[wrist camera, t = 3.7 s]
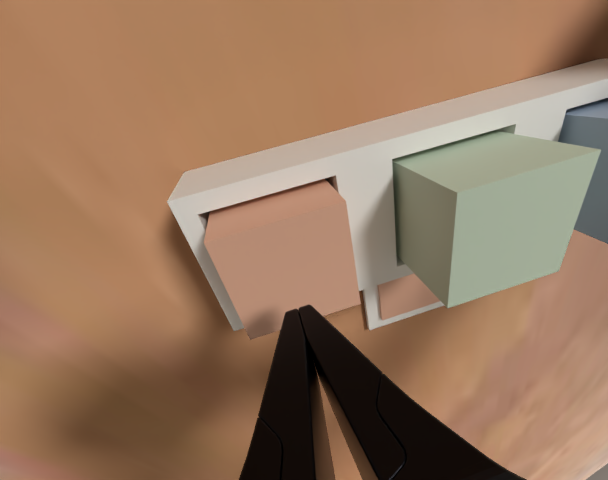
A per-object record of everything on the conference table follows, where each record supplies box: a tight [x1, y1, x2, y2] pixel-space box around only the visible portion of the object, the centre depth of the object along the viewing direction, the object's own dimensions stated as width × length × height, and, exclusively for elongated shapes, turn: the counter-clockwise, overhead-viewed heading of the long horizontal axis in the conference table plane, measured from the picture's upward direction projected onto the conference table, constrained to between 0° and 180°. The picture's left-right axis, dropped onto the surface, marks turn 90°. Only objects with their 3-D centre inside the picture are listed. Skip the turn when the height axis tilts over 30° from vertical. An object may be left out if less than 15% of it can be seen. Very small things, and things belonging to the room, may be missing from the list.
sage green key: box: [392, 130, 601, 308], centre depth 12 cm, size 5×5×5 cm
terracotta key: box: [204, 178, 361, 340], centre depth 13 cm, size 5×5×5 cm
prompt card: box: [362, 274, 444, 330], centre depth 20 cm, size 7×6×1 cm
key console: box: [167, 58, 608, 331], centre depth 15 cm, size 23×7×4 cm, turn 102°
